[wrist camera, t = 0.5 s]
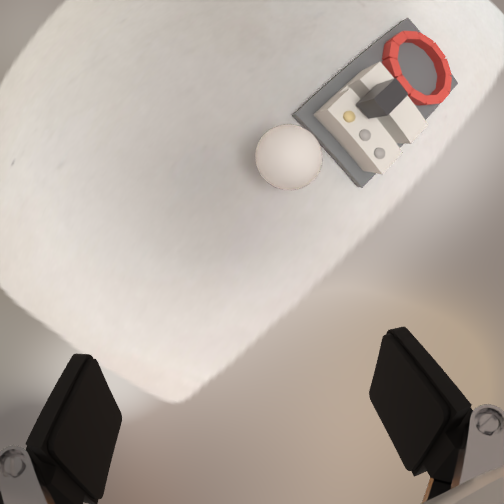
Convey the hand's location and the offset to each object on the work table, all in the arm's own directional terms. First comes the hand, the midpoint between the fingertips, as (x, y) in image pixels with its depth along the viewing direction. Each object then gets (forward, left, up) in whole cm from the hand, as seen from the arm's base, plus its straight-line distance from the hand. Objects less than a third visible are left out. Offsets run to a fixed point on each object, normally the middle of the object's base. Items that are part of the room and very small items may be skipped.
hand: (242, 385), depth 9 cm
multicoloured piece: (-20, +16, -28) cm, 38 cm away
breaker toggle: (-16, +12, -25) cm, 31 cm away
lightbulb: (-7, +4, -28) cm, 30 cm away
